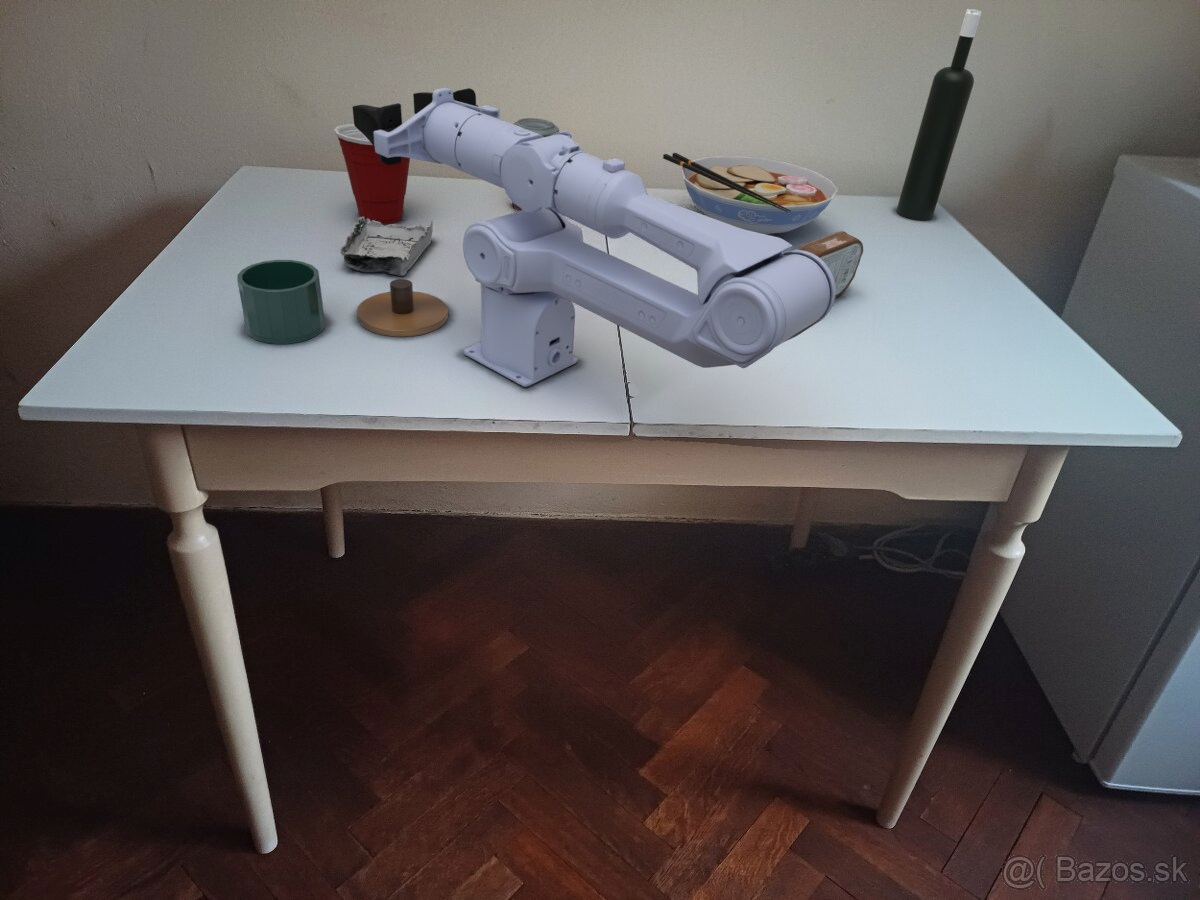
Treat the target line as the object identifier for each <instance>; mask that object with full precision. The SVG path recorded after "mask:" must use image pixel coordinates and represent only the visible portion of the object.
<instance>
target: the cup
mask: <svg viewBox="0 0 1200 900" xmlns="http://www.w3.org/2000/svg"><path fill="white" fill-rule="evenodd" d="M236 276H237V278H236V282H237V288H238V292H239V299H240V303H241V308H242V313H243V319H244V324H245V329H246V332H247V334H248V336H249V337H251V338H252V339H254V340H255V341H258V342H262V343H265V344H272V345H289V344H295V343H301V342H305V341H308V340H311V339H312V338H315V337H316V336H318V335H320V334H321V333H322V332H323V331H324V329H325V326H326V322H325V321H326V320H325V313H324V304H323V297H322V289H321V281H320V273H319V269H317V268H316V267H315V266H314V265H313V264H311V263H308V262H305V261H300V260H294V259H273V260H265V261H260V262H259V261H258V262H255V263H253V264H250V265H247V266H246V267H245V268H243V269H241V270H240V271H239V272H238V273H237V275H236Z"/></svg>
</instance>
